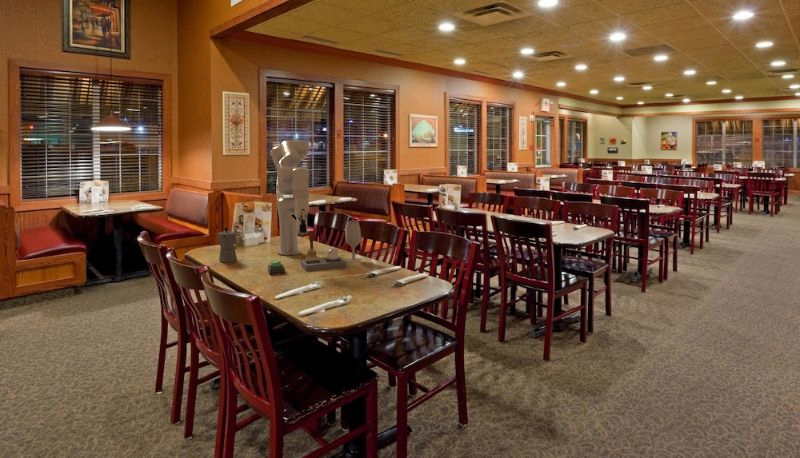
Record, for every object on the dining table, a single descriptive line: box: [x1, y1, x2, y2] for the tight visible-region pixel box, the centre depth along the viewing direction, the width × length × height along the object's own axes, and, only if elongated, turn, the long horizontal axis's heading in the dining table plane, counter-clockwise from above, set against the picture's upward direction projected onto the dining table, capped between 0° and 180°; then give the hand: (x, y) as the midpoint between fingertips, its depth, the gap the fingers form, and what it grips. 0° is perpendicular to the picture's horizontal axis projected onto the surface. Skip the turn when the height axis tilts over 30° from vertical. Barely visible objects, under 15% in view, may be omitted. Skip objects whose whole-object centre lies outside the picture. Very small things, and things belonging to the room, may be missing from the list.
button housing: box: [267, 263, 286, 276], centre depth 242 cm, size 7×7×3 cm
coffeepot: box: [216, 227, 238, 264], centre depth 267 cm, size 15×9×18 cm, turn 8°
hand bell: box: [304, 230, 320, 260], centre depth 265 cm, size 8×8×16 cm
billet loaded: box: [327, 248, 339, 262], centre depth 252 cm, size 5×5×8 cm
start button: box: [270, 260, 282, 268], centre depth 242 cm, size 4×4×2 cm
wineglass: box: [344, 220, 362, 263], centre depth 263 cm, size 9×9×21 cm
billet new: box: [295, 217, 308, 236], centre depth 243 cm, size 5×5×8 cm
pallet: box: [300, 256, 347, 272], centre depth 250 cm, size 12×20×4 cm, turn 112°
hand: (302, 231), depth 244 cm, fingers closed on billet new, 5 cm apart
